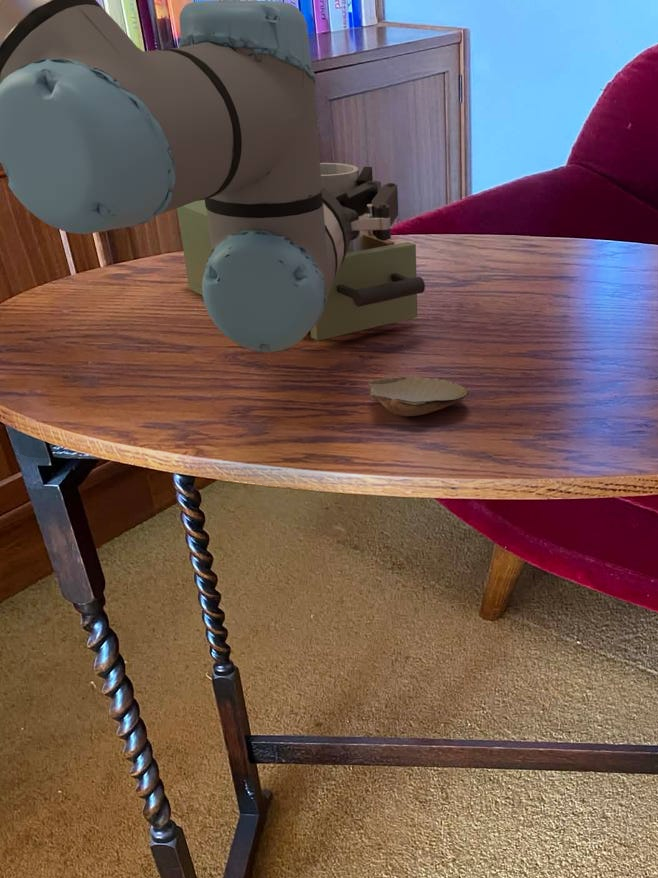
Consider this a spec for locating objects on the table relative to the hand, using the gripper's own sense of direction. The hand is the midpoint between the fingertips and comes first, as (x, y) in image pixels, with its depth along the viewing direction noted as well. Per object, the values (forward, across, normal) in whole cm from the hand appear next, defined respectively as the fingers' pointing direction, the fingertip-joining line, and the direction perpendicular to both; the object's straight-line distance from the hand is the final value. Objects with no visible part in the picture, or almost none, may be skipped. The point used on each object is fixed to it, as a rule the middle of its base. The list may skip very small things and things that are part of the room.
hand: (333, 181), depth 92 cm
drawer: (-6, +1, -11) cm, 13 cm away
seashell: (-27, +9, -12) cm, 31 cm away
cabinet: (+4, -8, -12) cm, 14 cm away
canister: (-5, 0, -6) cm, 8 cm away
